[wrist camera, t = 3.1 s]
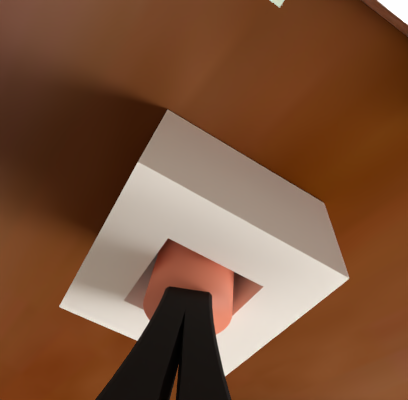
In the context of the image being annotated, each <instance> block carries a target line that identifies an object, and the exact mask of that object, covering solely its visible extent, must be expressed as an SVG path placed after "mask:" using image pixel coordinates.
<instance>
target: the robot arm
mask: <svg viewBox="0 0 408 400" xmlns="http://www.w3.org/2000/svg"><path fill="white" fill-rule="evenodd" d="M178 364H179V368H178ZM177 368H178V380H177V393H176V400H231V397H230V393H229V390H228V386H227V382H226V379H225V375H224V371H223V367H222V362H221V358H220V353H219V349H218V344H217V339H216V333H215V326H214V319H213V309H212V295H211V294H210V293H209V292H204V291H198V290H191V289H184V288H178V287H171V286H169V287H167V288H166V289H165V291H164V294H163V296H162V298H161V300H160V303H159V305H158V307H157V309H156V310H155V312H154V314H153V316H152V318H151V319H150V321H149V323H148V325H147V326H146V328H145V330H144V331H143V333H142V334H141V336H140V338H139V339H138V341H137V342H136V344H135V346H134V347H133V349H132V350H131V352H130V353H129V355H128V356H127V357H126V359H125V360H124V362H123V363H122V364H121V366H120V367H119V369H118V370H117V372H116V373H115V374H114V376H113V377H112V379H111V380H110V381H109V382H108V384H107V385H106V386H105V388H104V389H103V390H102V392H101V393H100V394H99V395H98V397H97V398H96V399H95V400H170V396H171V392H172V388H173V384H174V380H175V376H176V372H177Z"/></svg>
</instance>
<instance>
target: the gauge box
mask: <svg viewBox="0 0 408 400" xmlns="http://www.w3.org/2000/svg"><path fill="white" fill-rule="evenodd" d="M168 238H169V239H171V240H173V241H175V242H177V243H179V244H181V245H183V246H185V247H187V248H188V249H190V250H192V251H194V252H196V253H198V254H200V255H202V256H204V257H206V258H208V259H210V260H212V261H214V262H216V263H218V264H220V265H222V266H224V267H226V268H228V269H230V270H232V271H234V285H233V310H232V319H231V321H230V323H229V325H228V326H227V327H226V328H225V329H224V330H223V331H222V332H220V333H218V334H216V339H217V344H218V349H219V353H220V358H221V362H222V367H223V371H224V375H225V376H226V375H227V374H229V373H230V372H231V371H232V370H234V369H235V368H236V367H238V366H239V365H240V364H241V363H243V362H244V361H245V360H246V359H248V358H249V357H250V356H251V355H253V354H254V353H255V352H257V351H258V350H259V349H260V348H262V347H263V346H264V345H265V344H267V343H268V342H269V341H271V340H272V339H273V338H274V337H276V336H277V335H278V334H279V333H281V332H282V331H283V330H285V329H286V328H287V327H288V326H290V325H291V324H292V323H293V322H295V321H296V320H297V319H299V318H300V317H301V316H302V315H304V314H305V313H306V312H307V311H309V310H310V309H311V308H313V307H314V306H315V305H316V304H318V303H319V302H320V301H321V300H323V299H324V298H325V297H327V296H328V295H329V294H330V293H332V292H333V291H334V290H335V289H337V288H338V287H339V286H340V285H342V284H343V283H344V282H346V281H347V280H348V279H349V275H348V272H347V269H346V266H345V264H344V261H343V258H342V255H341V252H340V249H339V246H338V243H337V240H336V237H335V234H334V231H333V228H332V225H331V222H330V219H329V216H328V213H327V210H326V207H325V204H324V203H323V202H321V201H320V200H318V199H316V198H315V197H313V196H311V195H310V194H308V193H306V192H305V191H303V190H301V189H300V188H298V187H296V186H295V185H293V184H291V183H290V182H288V181H286V180H285V179H283V178H281V177H280V176H278V175H276V174H275V173H273V172H271V171H270V170H268V169H266V168H265V167H263V166H261V165H260V164H258V163H256V162H255V161H253V160H251V159H250V158H248V157H246V156H245V155H243V154H241V153H240V152H238V151H236V150H235V149H233V148H231V147H230V146H228V145H226V144H225V143H223V142H221V141H220V140H218V139H216V138H215V137H213V136H211V135H210V134H208V133H206V132H205V131H203V130H201V129H200V128H198V127H196V126H195V125H193V124H191V123H190V122H188V121H186V120H185V119H183V118H181V117H180V116H178V115H176V114H175V113H173V112H171V111H170V110H167V111H166V113H165V115H164V117H163V118H162V120H161V122H160V124H159V125H158V127H157V129H156V131H155V132H154V134H153V136H152V138H151V140H150V141H149V143H148V145H147V147H146V148H145V150H144V152H143V154H142V155H141V157H140V159H139V161H138V162H137V164H136V166H135V168H134V170H133V172H132V174H131V175H130V177H129V179H128V181H127V183H126V185H125V186H124V188H123V190H122V192H121V194H120V196H119V197H118V199H117V201H116V203H115V205H114V207H113V208H112V210H111V212H110V214H109V216H108V218H107V220H106V221H105V223H104V225H103V227H102V229H101V231H100V232H99V234H98V236H97V238H96V240H95V242H94V243H93V245H92V247H91V249H90V251H89V253H88V254H87V256H86V258H85V260H84V262H83V264H82V265H81V267H80V269H79V271H78V273H77V275H76V277H75V278H74V280H73V282H72V284H71V286H70V288H69V289H68V291H67V293H66V295H65V297H64V299H63V300H62V302H61V304H60V306H59V307H60V308H63V309H65V310H67V311H70V312H72V313H74V314H77V315H79V316H81V317H84V318H86V319H88V320H91V321H93V322H95V323H98V324H100V325H102V326H105V327H107V328H109V329H112V330H114V331H116V332H119V333H121V334H123V335H125V336H128V337H130V338H132V339H135V340H137V341H138V339H139V338H140V336H141V334H142V333H143V331H144V330H145V328H146V326H147V325H148V323H149V321H150V320H149V319H148V317H147V316H146V314H145V312H144V308H143V301H144V297H145V294H146V291H147V288H148V284H149V281H150V278H151V275H152V271H153V268H154V265H155V262H156V259H157V255H158V252H159V250H160V249H161V247H162V246H163V245H164V243H165V242H166V240H167V239H168Z"/></svg>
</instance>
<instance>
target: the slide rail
mask: <svg viewBox="0 0 408 400" xmlns="http://www.w3.org/2000/svg"><path fill="white" fill-rule="evenodd" d="M361 1H362V2H364V3H365V4H366V5H368V6H369V7H370V8H371V9H373V10H374V11H375V12H377V13H378V14H379V15H380V16H382V17H383V18H384V19H386V20H387V21H388V22H389V23H391V24H392V25H393V26H395V27H396V28H397V29H398V30H400V31H401V32H402V33H404V34H405V35H406V36H407V37H408V0H361Z"/></svg>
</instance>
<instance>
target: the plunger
mask: <svg viewBox="0 0 408 400" xmlns="http://www.w3.org/2000/svg"><path fill="white" fill-rule="evenodd" d="M233 285H234V271H232V270H230V269H228V268H226V267H224V266H222V265H220V264H218V263H216V262H214V261H212V260H210V259H208V258H206V257H204V256H202V255H200V254H198V253H196V252H194V251H192V250H190V249H188V248H187V247H185V246H183V245H181V244H179V243H177V242H175V241H173V240H171V239H169V238H168V239H167V240H166V242H165V243H164V245H163V246H162V247H161V249H160V250H159V252H158V255H157V259H156V262H155V265H154V268H153V271H152V275H151V278H150V281H149V284H148V288H147V291H146V294H145V297H144V301H143V308H144V312H145V314H146V316H147V317H148V319H149V320H150V319H151V318H152V316H153V314H154V312H155V310H156V309H157V307H158V305H159V303H160V300H161V298H162V296H163V294H164V291H165V289H166V288H167V287H169V286H171V287H178V288H184V289H191V290H198V291H204V292H209V293H210V294H211V295H212V309H213V319H214V326H215V333H216V334H218V333H220V332H222V331H223V330H224V329H225V328H226V327H227V326H228V325H229V323H230V321H231V319H232V310H233Z"/></svg>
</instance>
